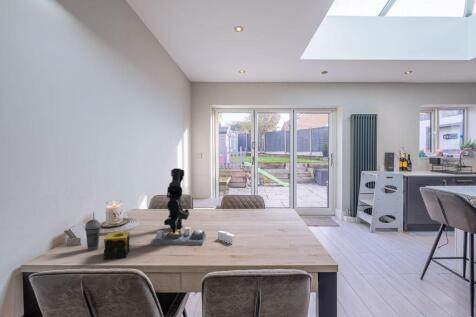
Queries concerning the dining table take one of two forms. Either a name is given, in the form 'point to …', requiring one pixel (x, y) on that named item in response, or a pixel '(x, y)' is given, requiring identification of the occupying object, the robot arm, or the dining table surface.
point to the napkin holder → (226, 237)
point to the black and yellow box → (116, 245)
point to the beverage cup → (92, 234)
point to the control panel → (180, 239)
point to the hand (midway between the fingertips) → (174, 232)
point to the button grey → (197, 232)
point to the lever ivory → (187, 231)
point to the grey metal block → (160, 234)
